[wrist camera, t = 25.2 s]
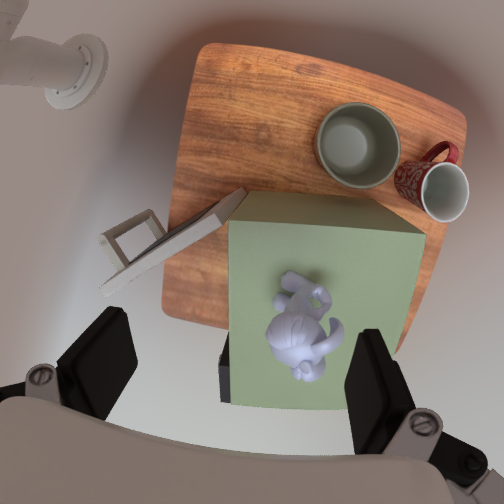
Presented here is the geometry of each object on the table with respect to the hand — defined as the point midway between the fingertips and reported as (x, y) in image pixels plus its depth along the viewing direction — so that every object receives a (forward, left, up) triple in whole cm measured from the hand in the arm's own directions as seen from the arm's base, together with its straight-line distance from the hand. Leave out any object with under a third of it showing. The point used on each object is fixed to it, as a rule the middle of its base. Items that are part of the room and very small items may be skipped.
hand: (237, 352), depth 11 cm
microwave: (+6, -14, -42) cm, 45 cm away
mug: (+26, +6, -42) cm, 50 cm away
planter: (+12, +9, -42) cm, 45 cm away
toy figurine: (+4, -8, -20) cm, 22 cm away
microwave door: (-15, -3, -42) cm, 45 cm away
